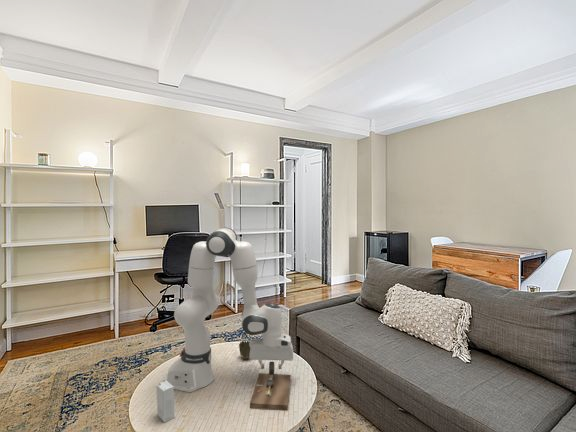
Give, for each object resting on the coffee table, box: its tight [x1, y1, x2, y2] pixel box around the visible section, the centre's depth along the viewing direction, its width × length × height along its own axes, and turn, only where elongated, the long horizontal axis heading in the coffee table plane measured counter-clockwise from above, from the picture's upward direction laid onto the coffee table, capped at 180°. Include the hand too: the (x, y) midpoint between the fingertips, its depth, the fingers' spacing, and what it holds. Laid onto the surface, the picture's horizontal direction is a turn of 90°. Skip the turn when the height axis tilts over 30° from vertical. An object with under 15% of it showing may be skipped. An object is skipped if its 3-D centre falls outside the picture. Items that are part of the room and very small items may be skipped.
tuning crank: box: [267, 360, 275, 395], centre depth 136 cm, size 16×3×6 cm, turn 178°
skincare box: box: [156, 381, 176, 423], centre depth 118 cm, size 6×4×12 cm
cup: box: [238, 340, 250, 361], centre depth 163 cm, size 8×7×8 cm
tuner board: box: [249, 372, 292, 411], centre depth 134 cm, size 15×22×2 cm
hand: (271, 368), depth 143 cm, fingers open, 7 cm apart
